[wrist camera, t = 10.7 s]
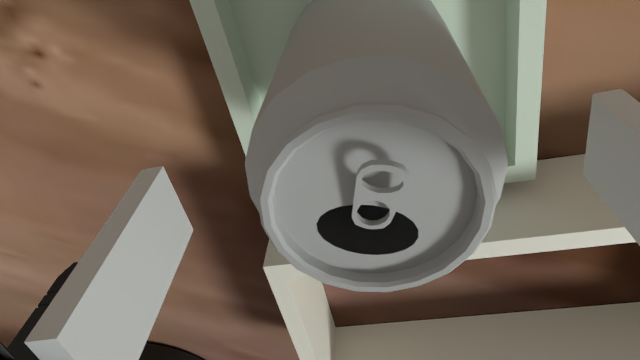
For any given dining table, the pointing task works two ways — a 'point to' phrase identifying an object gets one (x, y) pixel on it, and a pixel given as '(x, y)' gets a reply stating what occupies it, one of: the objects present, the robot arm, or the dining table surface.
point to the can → (375, 148)
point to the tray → (463, 23)
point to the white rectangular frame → (494, 329)
